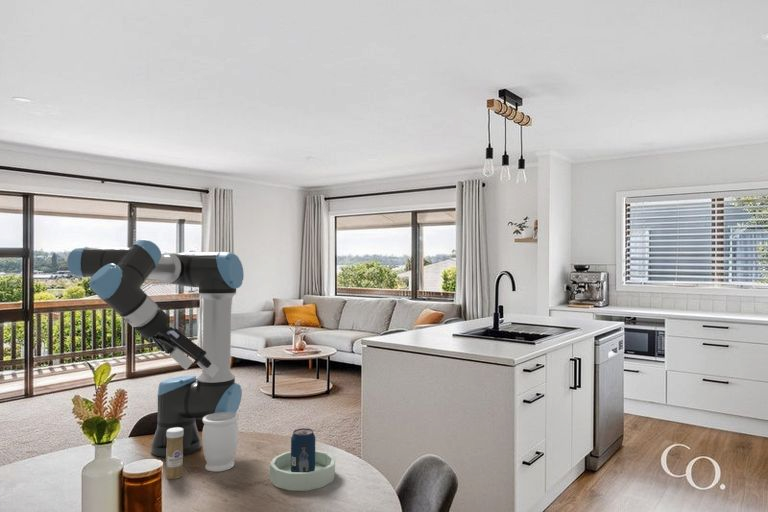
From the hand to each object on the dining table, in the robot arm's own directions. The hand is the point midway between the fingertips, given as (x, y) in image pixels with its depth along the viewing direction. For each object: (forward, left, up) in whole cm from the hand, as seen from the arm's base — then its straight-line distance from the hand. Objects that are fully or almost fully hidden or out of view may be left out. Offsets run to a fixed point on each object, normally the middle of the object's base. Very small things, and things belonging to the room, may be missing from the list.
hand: (201, 369), depth 138 cm
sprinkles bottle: (-14, -4, -33) cm, 36 cm away
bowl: (+4, +28, -33) cm, 43 cm away
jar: (-15, +9, -33) cm, 37 cm away
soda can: (+4, +28, -32) cm, 42 cm away
